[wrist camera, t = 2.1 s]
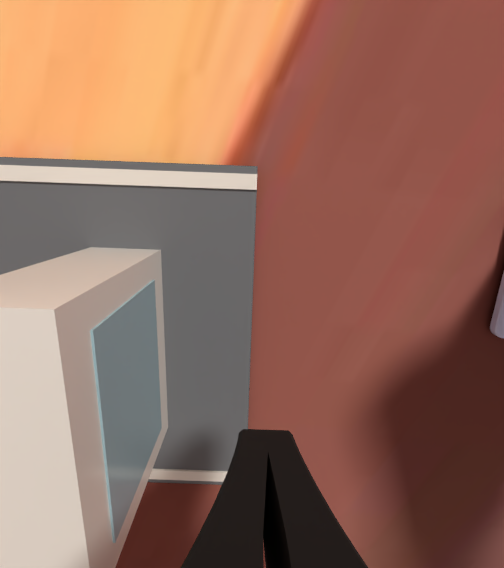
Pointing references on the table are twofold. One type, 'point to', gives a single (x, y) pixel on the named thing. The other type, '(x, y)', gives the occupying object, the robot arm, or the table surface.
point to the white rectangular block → (79, 404)
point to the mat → (175, 277)
